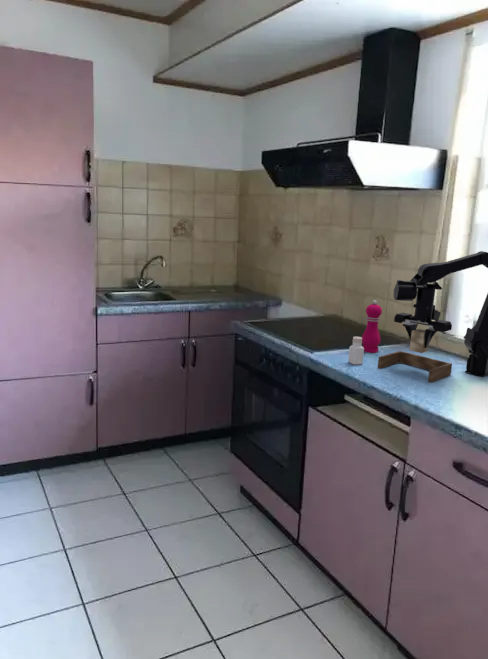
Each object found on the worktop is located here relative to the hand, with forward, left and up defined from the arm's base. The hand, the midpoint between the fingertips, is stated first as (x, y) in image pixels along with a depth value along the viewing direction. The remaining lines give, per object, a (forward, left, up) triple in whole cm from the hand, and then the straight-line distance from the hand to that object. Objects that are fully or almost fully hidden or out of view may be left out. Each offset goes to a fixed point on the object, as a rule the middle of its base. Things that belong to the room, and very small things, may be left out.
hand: (419, 346), depth 191 cm
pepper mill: (+25, -9, -9) cm, 28 cm away
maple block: (0, 0, -2) cm, 2 cm away
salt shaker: (+18, +11, -9) cm, 23 cm away
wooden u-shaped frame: (0, +2, -9) cm, 9 cm away
